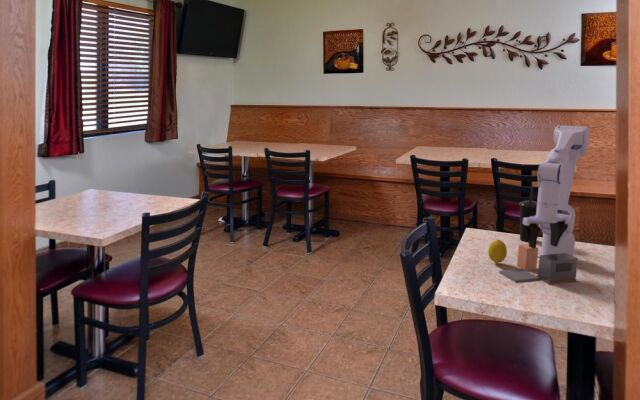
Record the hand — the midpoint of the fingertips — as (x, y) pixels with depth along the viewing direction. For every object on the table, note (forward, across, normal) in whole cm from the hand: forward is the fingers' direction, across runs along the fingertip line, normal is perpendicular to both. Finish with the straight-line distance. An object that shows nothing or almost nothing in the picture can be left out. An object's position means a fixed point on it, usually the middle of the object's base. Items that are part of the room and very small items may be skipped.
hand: (543, 246), depth 155 cm
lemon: (+8, -9, +10) cm, 15 cm away
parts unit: (+8, 0, -7) cm, 11 cm away
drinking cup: (+8, +17, +30) cm, 35 cm away
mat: (+8, -9, -2) cm, 12 cm away
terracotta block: (+8, -2, +4) cm, 9 cm away
